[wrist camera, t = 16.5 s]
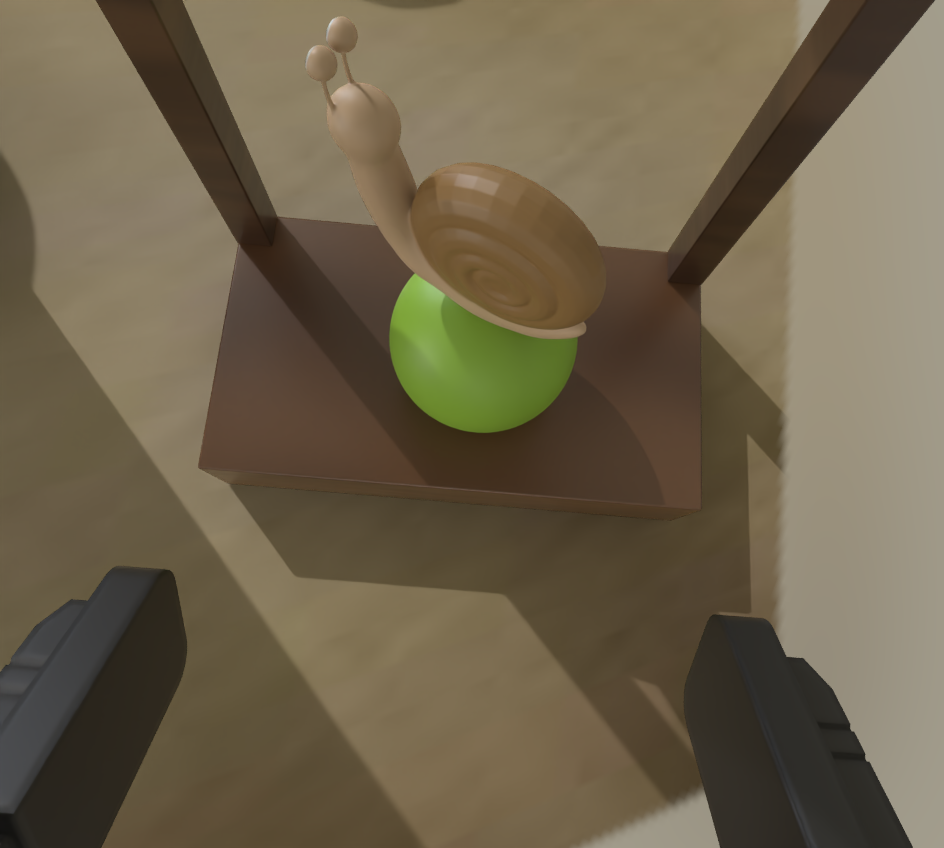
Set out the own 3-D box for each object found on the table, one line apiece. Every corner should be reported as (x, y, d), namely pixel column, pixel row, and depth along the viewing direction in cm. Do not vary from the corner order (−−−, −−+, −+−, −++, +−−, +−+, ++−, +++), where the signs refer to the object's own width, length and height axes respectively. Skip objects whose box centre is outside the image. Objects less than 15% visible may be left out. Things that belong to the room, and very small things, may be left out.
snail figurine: (420, 254, 23) (396, -83, 12) (588, 339, 23) (734, 73, 11) (339, 386, 22) (221, 155, 11) (514, 480, 22) (593, 344, 10)
